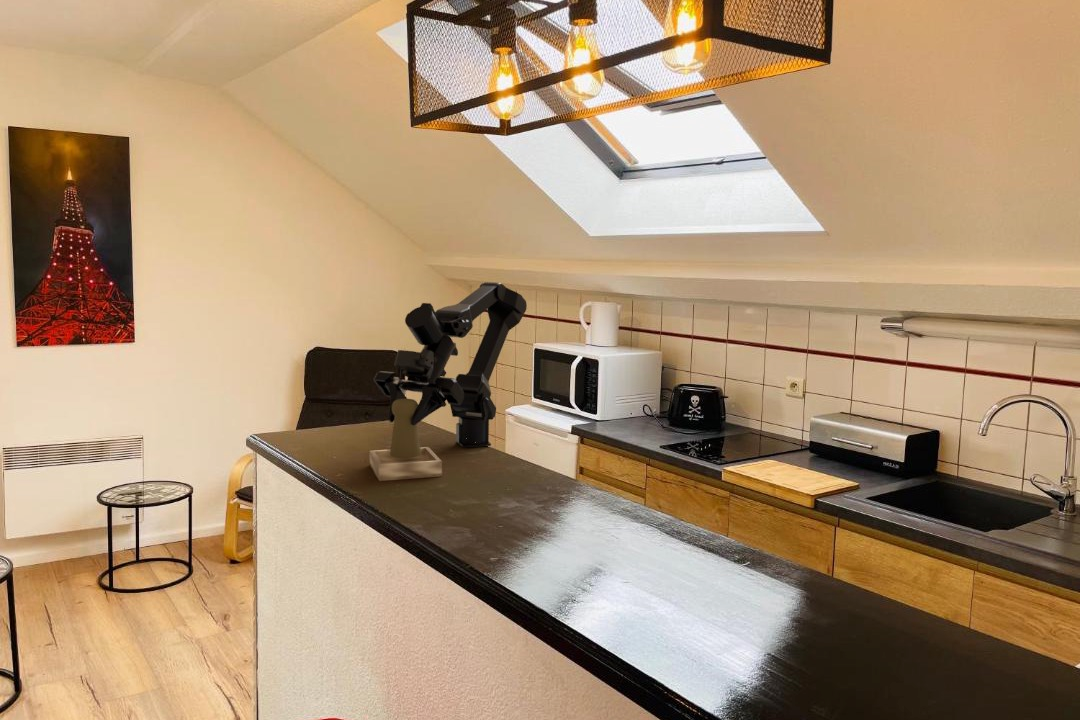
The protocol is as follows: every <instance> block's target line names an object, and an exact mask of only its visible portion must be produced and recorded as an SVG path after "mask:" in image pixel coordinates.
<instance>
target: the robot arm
mask: <svg viewBox="0 0 1080 720" xmlns="http://www.w3.org/2000/svg"><path fill="white" fill-rule="evenodd" d="M527 307H528V306H527V301H526V299H525V298H524V296H523V295H522V294H520V293H518V292H516V291H515V290H513V289H510V288H508V287H506V286H505V285H504V284H503V283H501V282H488V281H487V282H486V281H485V282H484V283H483V282H482V283H481V284H480V285H479V287H478V288H477V289H476V290H474V291H473V292H471V293H470V294H469V295H467V296H466V297H465V298H463V299H462V300H461V301H460V302H458V303H456V304H451V305H447V306H444V307H441V308H439V309H437V310H435V309H434V307H433V305H432V303H429V302H421V305H420V306H418V307H416V308H413V309H412V310H411V311H410V312H408V313H407V314H406V315H405V318H404V321H405V322H404V323H405V325H406V326H407V328H408V330H409V332H410V333H411V334H412V336H413V337H414V338H415V340H416V342H417V343H418V345H422V346H423V347H422V350H421V351H420V352H419V351H415V350H404V349H398V350H397V354H396V357H395V361H394V367H396V368H399V369H402V370H403V371H402V374H403V376H404V377H406V379H402V378H400V377H399V376H398V373H396V372H395V371H394V372H393V371H383V370H380V371H378V372H376V374H375V376H374V378H373V382H374V384H376V386H377V388H378V389H379V390H380V391H381V393H382V394H383V395H384V396H385V397H386V398H387V397H388V398H389V399H390V400H389V401H390V403H389V410H388V421H389V422H390V423H394V418H395V416H394V414H393V412H392V404H393V402H394V401H395V400H398V399H408V397H407V396H406V392H407V391H408V392H409V391H410V392H412V393H413V392H414V393H415V392H416V393H421V398H420V401H419V403H418V406H417V409H416V411H415V413H414V415H413V417H412V420H411V424H412V425H416V424H417V425H418V423H420V422H421V421H422V420H424V419H425V418H426V417H428V416H429V415H431V414H432V413H434V412H436V411H437V410H439V409H440V408H442V407H443V408H444V407H446V406H447V403H448V404H449V405H450V406H449V407H450V411H451V415H452V417H453V418H458V422H457V423H456V424H455V425H456V427H455V432H456V433H455V441H456V443H458V445H460V446H461V447H462V448H476V447H491V446H492V443H491V442H490V441H489V439H490V437H489V435H490V433H489V432H490V431H489V430H490V421H491V420H494V418H495V417H496V413H497V407H496V405H495V404H494V401H493V400H492V398H491V396H492V391H491V387H490V379H491V377H492V374H493V371H494V369H495V366H496V363H497V361H498V359H499V356H500V354H501V353H502V352H501V351H502V349H503V347H504V344H505V341H506V339H507V336H508V334H509V332H510V330H513V328H514V327H516V326H517V325H519V324H520V322H521V320H522V319H523V317H524V315H525V313H526V311H527ZM486 311H487V315H488V318H489V319H488V320H489V322H488V325H487V328H486V330H485V332H484V335H483V336H482V339H481V342H480V344H479V347H478V348H477V351H476V353H475V356H474V358H473V361H472V363H471V366H470V368H469V371H468V372H467V373H465V374H463V373H459V374H457V375H456V377H455V378H453V377H445V376H446V375H447V372H446V370H445V367H447V366H446V365H447V363H448V362H449V360H450V358H451V356H454V357H457V356H458V355H459V351H458V348H457V344H456V342H454V341H453V339H452V338H458V339H459V338H461V339H462V338H466V336H467V335H468V334H469V333H470V331H471V330H472V329H473V327H474V325H473V322H474V320H475V319H477V318H478V317H479V316H480V315H482V314H483V313H484V312H486ZM446 402H447V403H446ZM466 438H467V439H466ZM475 442H476V443H475Z"/></svg>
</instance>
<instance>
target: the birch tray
mask: <svg viewBox="0 0 1080 720" xmlns="http://www.w3.org/2000/svg"><path fill="white" fill-rule="evenodd" d="M390 449H391V448H390ZM390 449H379V450H378V449H377V450H375V449H374V450H369V466H370V468H371V469H372V471H373V473H374V474H375V475H374V476H376V478H377V479H378V481H379V482H384V481H397V480H409V479H412V480H413V479H423V478H435V477H436V478H437V477H442V476H443V461H442V459H440V457H439V456H438V455H436V453H435V452H434V451H433V450H432V449H431V448H430V447H429V446H423V447H421V446H420V451H421V454H420V455H419V456H417V457H412V458H397V457H392V456H390Z"/></svg>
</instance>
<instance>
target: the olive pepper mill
mask: <svg viewBox="0 0 1080 720" xmlns="http://www.w3.org/2000/svg"><path fill="white" fill-rule="evenodd" d="M418 404H419V403H418V402H417V400H416V399H413V398H407V399H398V400H395V401H394V402H393V404H392V412H393V414H394V416H395V418H394V421H393V427H392V435H391V442H390V456H392V457H397V458H412V457H417V456H419V455H420V454H421V451H420V447H421V446H420V445H421V444H420V438H419V430H418V423H417V424H416V425H412V424H411V420H412V417H413V415H414V413H415V411H416V409H417V406H418Z"/></svg>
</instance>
